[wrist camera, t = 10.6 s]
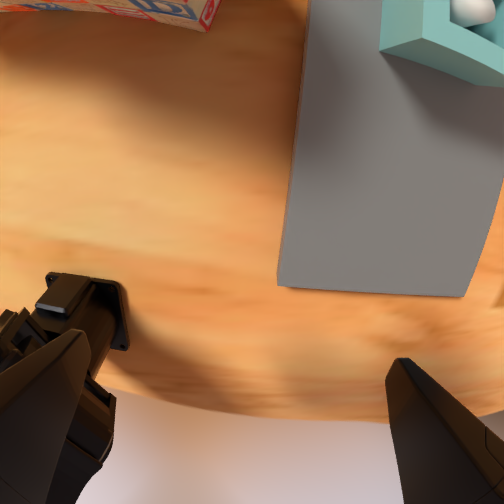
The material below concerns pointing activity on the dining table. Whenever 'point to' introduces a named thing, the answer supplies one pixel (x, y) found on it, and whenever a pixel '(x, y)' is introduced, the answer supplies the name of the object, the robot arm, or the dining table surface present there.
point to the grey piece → (388, 162)
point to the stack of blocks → (131, 9)
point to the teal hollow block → (444, 40)
